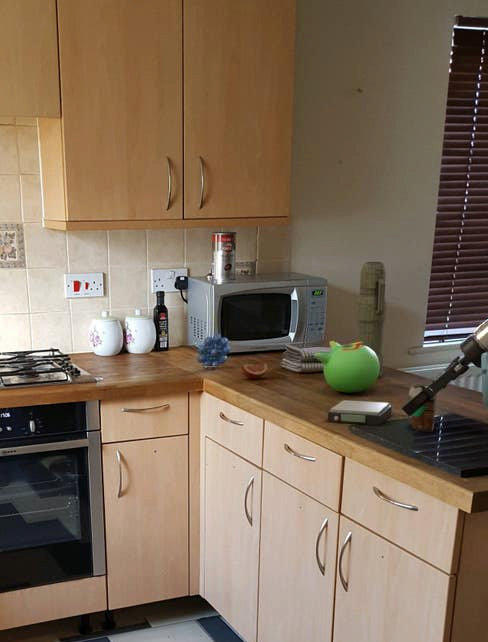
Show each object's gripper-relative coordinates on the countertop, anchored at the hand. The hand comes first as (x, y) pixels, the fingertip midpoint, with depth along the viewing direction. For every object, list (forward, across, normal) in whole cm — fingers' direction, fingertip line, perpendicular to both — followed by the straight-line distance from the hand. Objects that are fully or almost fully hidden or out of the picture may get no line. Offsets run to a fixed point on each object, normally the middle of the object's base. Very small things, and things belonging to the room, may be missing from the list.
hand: (411, 406), depth 210 cm
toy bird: (+22, +39, +14) cm, 47 cm away
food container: (+2, 0, -5) cm, 6 cm away
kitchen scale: (+13, +5, +6) cm, 15 cm away
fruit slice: (+46, +52, +38) cm, 79 cm away
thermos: (+23, +67, +15) cm, 73 cm away
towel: (+38, +76, +30) cm, 90 cm away
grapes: (+61, +66, +53) cm, 105 cm away
